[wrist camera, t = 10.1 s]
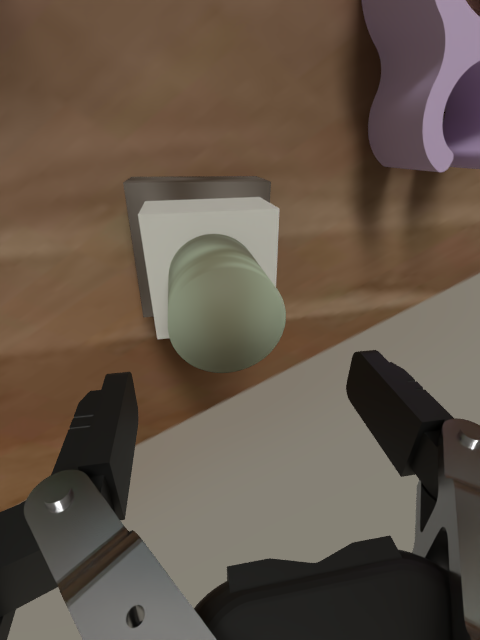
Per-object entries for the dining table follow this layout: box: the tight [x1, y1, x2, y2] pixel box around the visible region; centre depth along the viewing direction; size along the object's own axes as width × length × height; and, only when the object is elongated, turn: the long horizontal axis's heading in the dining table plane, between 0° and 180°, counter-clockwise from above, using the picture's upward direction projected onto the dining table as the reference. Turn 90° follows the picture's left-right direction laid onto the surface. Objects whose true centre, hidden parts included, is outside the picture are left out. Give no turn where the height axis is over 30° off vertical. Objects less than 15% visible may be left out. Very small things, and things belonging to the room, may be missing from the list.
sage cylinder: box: [168, 234, 286, 373], centre depth 17 cm, size 6×6×6 cm
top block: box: [138, 197, 279, 339], centre depth 22 cm, size 8×8×5 cm
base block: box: [123, 176, 271, 317], centre depth 26 cm, size 10×10×5 cm
